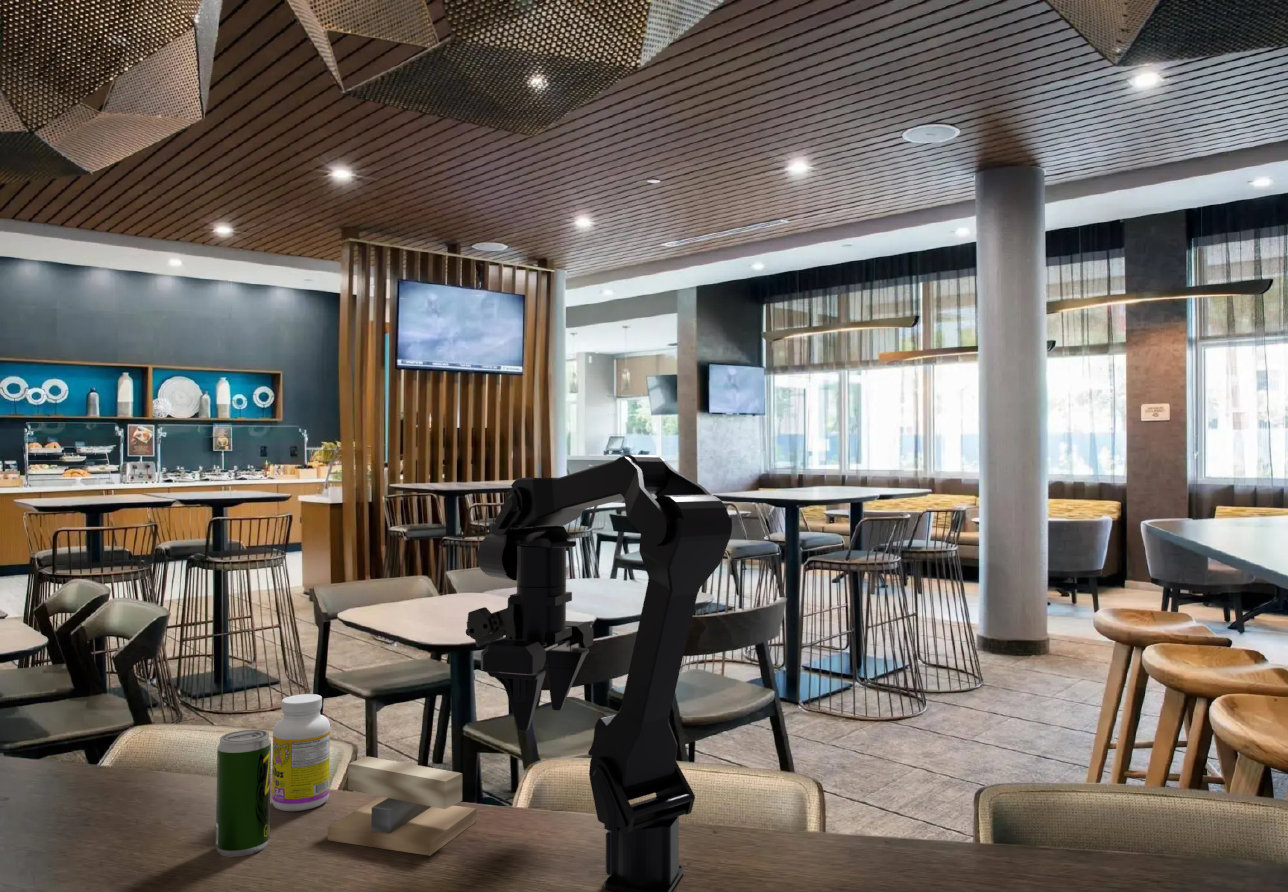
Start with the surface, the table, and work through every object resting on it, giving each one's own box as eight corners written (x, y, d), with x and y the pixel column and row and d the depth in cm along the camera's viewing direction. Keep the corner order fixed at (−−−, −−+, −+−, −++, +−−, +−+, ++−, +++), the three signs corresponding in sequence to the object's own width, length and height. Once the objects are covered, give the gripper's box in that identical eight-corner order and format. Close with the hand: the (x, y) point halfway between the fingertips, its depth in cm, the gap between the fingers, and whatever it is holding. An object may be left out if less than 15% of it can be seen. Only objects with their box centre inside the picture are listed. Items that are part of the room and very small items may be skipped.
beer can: (219, 862, 94) (221, 745, 94) (211, 844, 98) (213, 733, 99) (274, 850, 97) (275, 737, 97) (264, 833, 101) (265, 726, 102)
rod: (462, 800, 101) (462, 773, 101) (445, 809, 98) (445, 781, 98) (366, 781, 107) (367, 756, 107) (348, 789, 104) (348, 763, 104)
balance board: (476, 821, 105) (476, 786, 105) (430, 855, 95) (430, 817, 95) (380, 808, 109) (381, 775, 109) (327, 840, 99) (328, 803, 100)
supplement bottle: (270, 798, 112) (271, 694, 113) (326, 790, 115) (327, 689, 116) (273, 816, 106) (274, 707, 107) (332, 807, 109) (333, 701, 110)
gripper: (515, 574, 116) (514, 695, 116) (438, 591, 99) (437, 735, 98) (595, 577, 113) (594, 702, 112) (530, 596, 95) (530, 744, 94)
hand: (540, 719), depth 104 cm, fingers open, 9 cm apart
